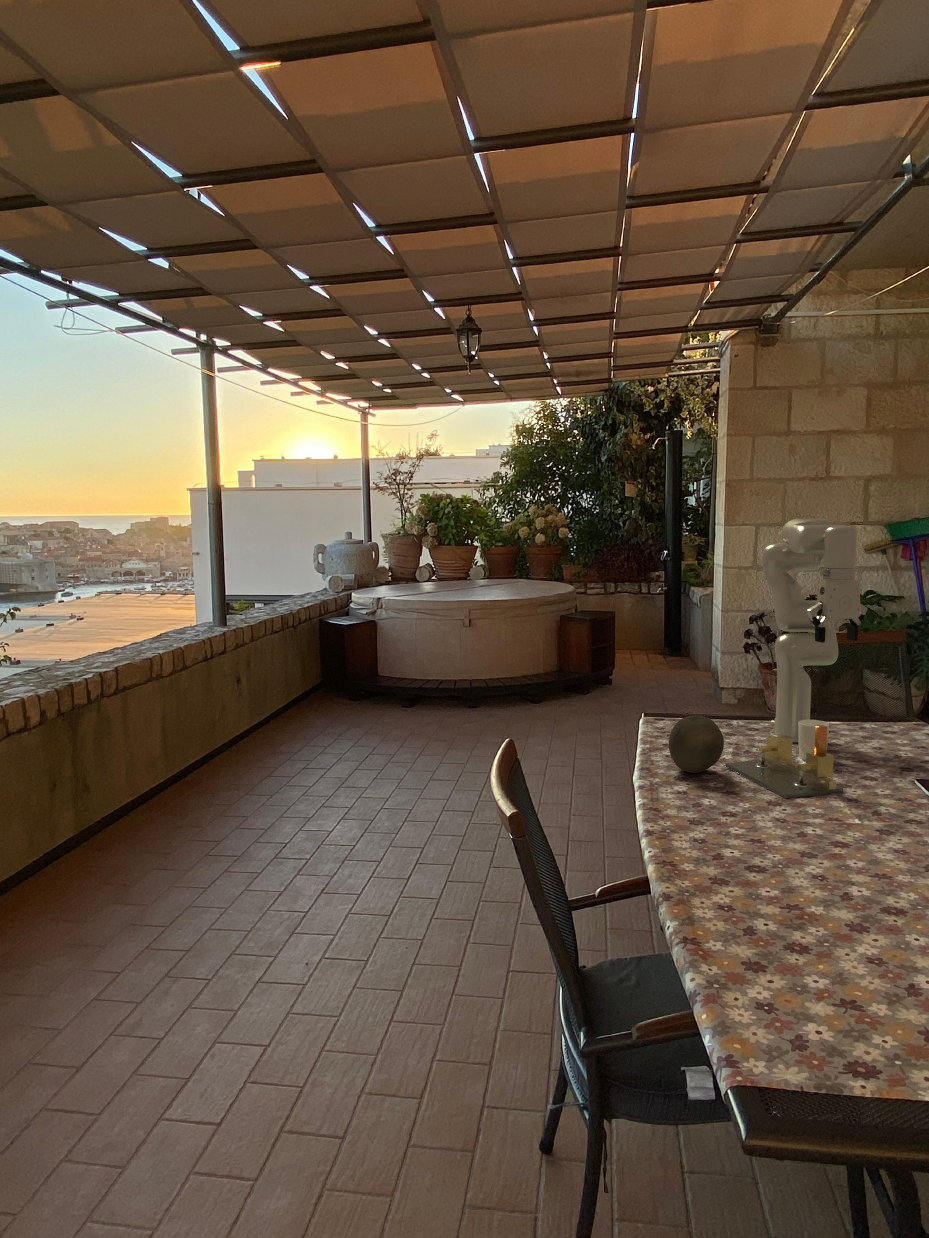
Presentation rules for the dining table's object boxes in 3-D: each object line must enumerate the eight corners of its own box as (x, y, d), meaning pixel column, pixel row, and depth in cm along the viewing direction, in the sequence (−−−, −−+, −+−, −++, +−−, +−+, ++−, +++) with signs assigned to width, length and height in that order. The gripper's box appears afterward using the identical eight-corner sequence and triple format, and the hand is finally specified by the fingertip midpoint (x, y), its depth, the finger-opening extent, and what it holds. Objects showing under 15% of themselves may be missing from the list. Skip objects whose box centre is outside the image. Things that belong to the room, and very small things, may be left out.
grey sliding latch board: (725, 766, 223) (725, 737, 222) (777, 761, 227) (778, 733, 226) (785, 798, 198) (786, 765, 197) (843, 792, 202) (844, 759, 201)
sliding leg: (792, 780, 206) (794, 726, 205) (820, 777, 208) (822, 723, 207) (804, 785, 202) (806, 730, 201) (832, 782, 204) (834, 727, 202)
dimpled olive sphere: (661, 776, 216) (662, 719, 214) (675, 761, 228) (676, 708, 226) (717, 784, 209) (719, 725, 207) (728, 768, 221) (729, 713, 220)
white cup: (823, 764, 224) (825, 728, 223) (793, 759, 229) (794, 723, 228) (831, 757, 230) (832, 722, 229) (801, 752, 235) (802, 718, 234)
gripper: (819, 577, 207) (816, 644, 209) (878, 574, 212) (874, 641, 214) (800, 575, 215) (797, 640, 217) (857, 572, 219) (854, 637, 221)
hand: (836, 640), depth 215 cm, fingers open, 9 cm apart
